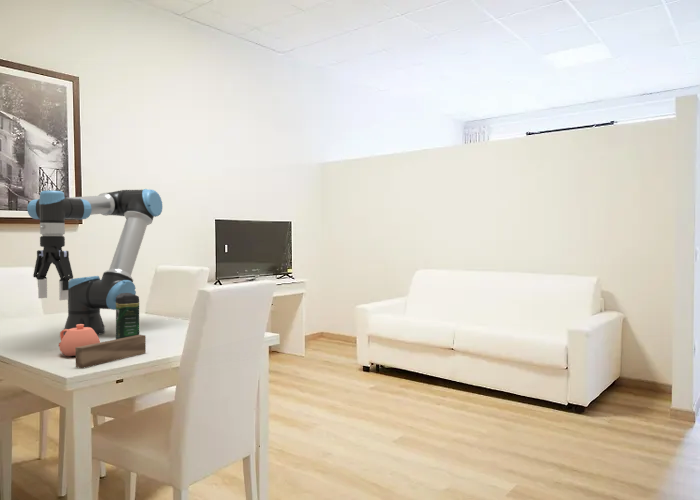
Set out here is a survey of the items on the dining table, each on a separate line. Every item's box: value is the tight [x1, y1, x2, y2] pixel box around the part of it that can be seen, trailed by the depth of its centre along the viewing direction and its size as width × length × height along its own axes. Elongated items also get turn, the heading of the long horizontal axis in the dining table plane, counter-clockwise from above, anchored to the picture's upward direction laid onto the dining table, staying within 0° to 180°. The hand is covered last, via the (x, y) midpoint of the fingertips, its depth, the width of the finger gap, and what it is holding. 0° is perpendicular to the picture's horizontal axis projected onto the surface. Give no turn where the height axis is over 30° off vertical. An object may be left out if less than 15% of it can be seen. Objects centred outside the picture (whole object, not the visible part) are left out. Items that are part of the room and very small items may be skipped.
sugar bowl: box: [58, 324, 101, 357], centre depth 181 cm, size 12×14×10 cm
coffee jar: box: [115, 293, 140, 339], centre depth 202 cm, size 10×8×19 cm
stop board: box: [75, 334, 147, 369], centre depth 174 cm, size 3×24×6 cm, turn 153°
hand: (53, 298), depth 187 cm, fingers open, 11 cm apart
